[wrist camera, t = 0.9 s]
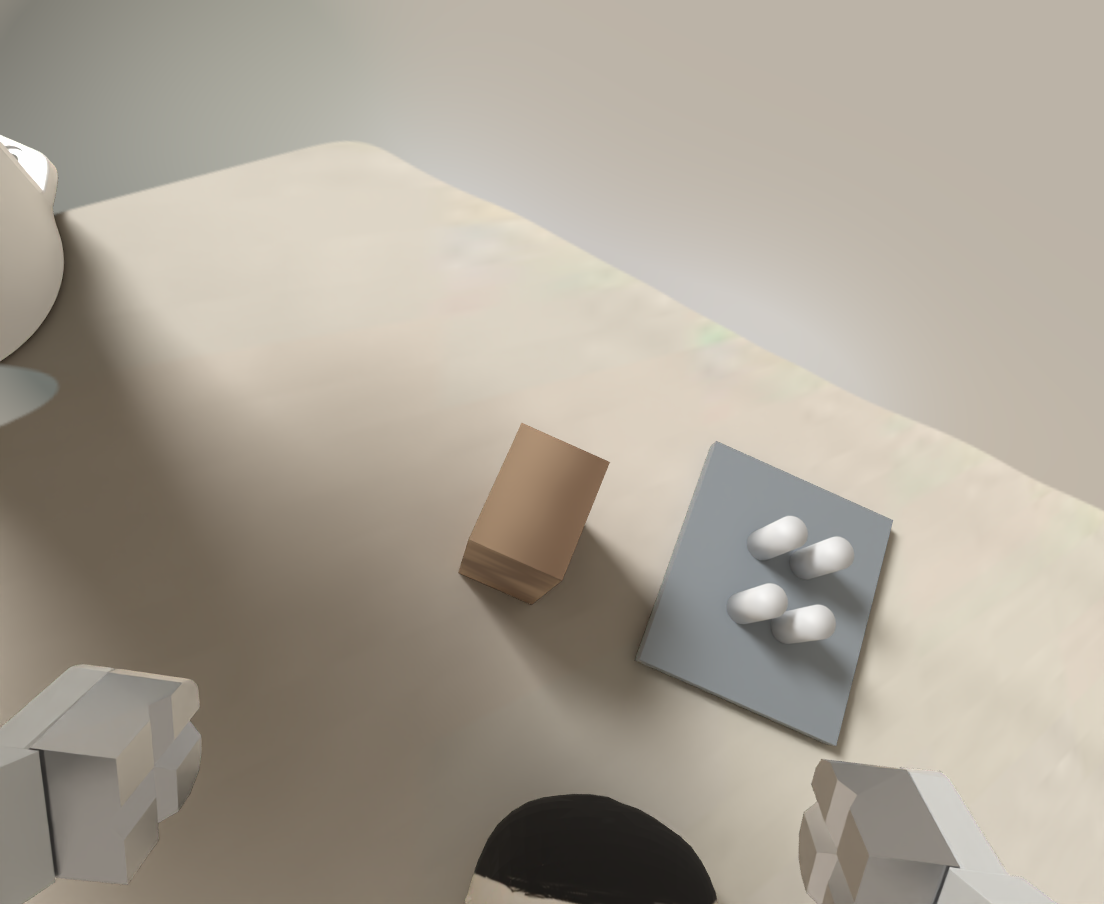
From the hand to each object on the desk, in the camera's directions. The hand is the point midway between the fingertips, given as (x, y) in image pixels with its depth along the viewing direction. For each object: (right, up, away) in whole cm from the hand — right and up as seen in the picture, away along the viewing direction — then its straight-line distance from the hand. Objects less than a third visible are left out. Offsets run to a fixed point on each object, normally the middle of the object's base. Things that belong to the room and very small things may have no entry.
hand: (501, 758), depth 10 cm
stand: (+13, -4, +36) cm, 38 cm away
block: (-1, -1, +34) cm, 34 cm away
